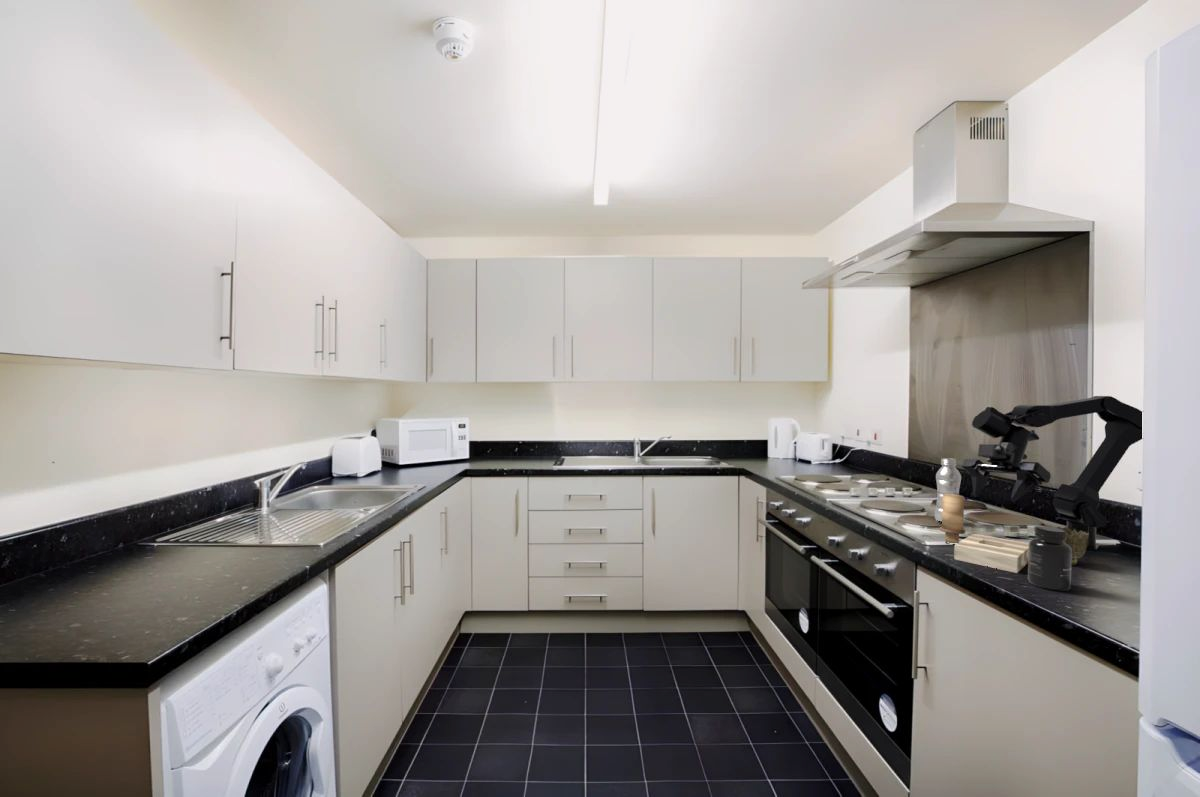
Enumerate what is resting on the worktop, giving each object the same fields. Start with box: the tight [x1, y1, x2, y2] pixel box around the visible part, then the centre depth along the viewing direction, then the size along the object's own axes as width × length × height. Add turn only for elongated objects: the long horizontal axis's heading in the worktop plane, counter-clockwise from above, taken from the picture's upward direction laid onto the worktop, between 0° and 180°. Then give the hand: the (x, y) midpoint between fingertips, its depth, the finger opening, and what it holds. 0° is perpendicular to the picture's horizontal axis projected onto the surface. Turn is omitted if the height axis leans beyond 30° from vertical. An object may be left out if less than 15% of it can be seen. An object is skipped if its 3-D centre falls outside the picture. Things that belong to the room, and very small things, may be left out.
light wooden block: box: [953, 532, 1029, 574], centre depth 124 cm, size 16×12×4 cm
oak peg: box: [939, 494, 966, 543], centre depth 136 cm, size 6×6×13 cm
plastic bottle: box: [934, 457, 962, 522], centre depth 157 cm, size 6×7×20 cm
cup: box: [1056, 526, 1089, 566], centre depth 121 cm, size 8×7×8 cm
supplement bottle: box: [1027, 525, 1072, 592], centre depth 107 cm, size 7×7×12 cm
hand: (993, 498), depth 132 cm, fingers open, 9 cm apart
